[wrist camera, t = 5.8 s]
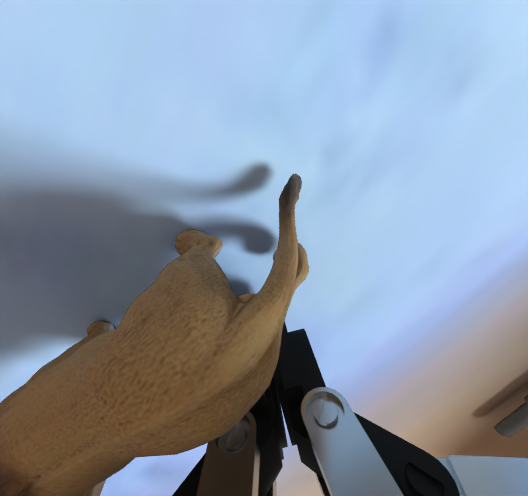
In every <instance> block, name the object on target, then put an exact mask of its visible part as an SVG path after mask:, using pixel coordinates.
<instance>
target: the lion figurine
mask: <svg viewBox="0 0 528 496" xmlns="http://www.w3.org/2000/svg"><path fill="white" fill-rule="evenodd" d="M301 185H302V181H301V177H300V176H298V175H297V174H293V175H292V176H291V177H290V179H289V180H288V182H287V184H286V185H285V187H284V189H283V191H282V193H281V195H280V198H279V241H278V247H277V249H276V250H275V252H274V254H273V260H274V262H273V266H272V269H271V271H270V274H269V276H268V278H267V280H266V282H265V284H264V285H263V287H262V288H261V290H260V291H259V292H258V293H257V294H249V293H247V294H243V295H240V296H236V294H235V293H234V292H233V290H232V288H231V286H230V284H229V281H228V279H227V277H226V276H225V274H224V273H223V271H222V270H221V268H220V266H219V265H218V263H217V262H216V261H215V259H214V258H215V257H216V256H217V254H218V253H219V251H220V250H221V248H222V245H223V244H222V241H221V239H220V238H218V237H216V236H210V235H207V234H205V233H204V232H202V231H198V230H188V231H185V232H182V233H181V234H179V235H178V237H177V239H176V243H175V247H176V249H177V251H178V253H179V254H180V255H181V256H180V257H178V258H176V259H175V260H173V261H172V262H170V263H169V264H168V265H167V266H166V267H165V268H164V269H163V271H162V272H161V273H160V274H159V276H158V277H157V279H156V281H155V282H154V283H153V284H152V285H151V286H150V287H149V288H147V289H146V290H145V291H144V292H143V293H141V294H140V295H139V296H138V297H137V298H136V299H135V300H134V302H133V303H132V304H131V306H130V307H129V308H128V310H127V311H126V313H125V315H124V317H123V319H122V321H121V323H120V325H119V326H118V327H117V328H116V329H115V328H114V326H113V325H111V324H110V323H107V322H101V321H97V322H94V323H93V324H91V325H90V326H89V327H88V328H87V332H88V336H87V337H86V338H84V339H83V340H81V341H80V342H78V343H77V344H75V345H73V346H72V347H70V348H69V349H67V350H66V351H65V352H64V353H62V354H61V355H60V356H58V357H57V358H55V359H54V360H52V361H51V362H49V363H47V364H46V365H44V366H43V367H42V368H40V369H39V370H38V371H37V372H36V373H35V374H34V375H33V376H32V377H31V378H30V379H29V381H28V382H27V383H26V384H24V385H23V386H21V387H20V388H18V389H17V390H16V391H14V392H13V393H11V394H10V395H9V396H8V397H6V398H5V399H4V400H3V401H2V402H1V403H0V496H92V494H93V492H94V489H95V487H96V485H97V484H99V483H101V482H102V481H104V480H106V479H107V478H109V477H110V476H112V475H113V474H115V473H116V472H118V471H120V470H121V469H123V468H124V467H125V466H126V465H127V464H129V463H130V462H131V461H132V460H133V459H134V458H135V457H146V456H160V455H174V454H179V453H182V452H185V451H188V450H191V449H194V448H196V447H199V446H201V445H204V444H206V443H208V442H210V441H212V440H213V439H215V438H217V437H219V436H221V435H223V434H225V433H227V432H228V431H229V430H230V429H231V428H232V427H234V426H235V425H236V424H237V423H238V422H239V421H240V420H241V419H242V418H243V417H244V416H245V414H246V413H247V412H248V411H249V410H250V409H251V408H252V406H253V405H254V404H255V403H256V402H257V401H258V400H259V399H260V397H261V396H262V395H263V393H264V392H265V391H266V389H267V388H268V387H269V385H270V382H271V380H272V377H273V374H274V371H275V369H276V366H277V362H278V358H279V351H280V345H281V336H282V329H283V324H284V320H285V317H286V313H287V310H288V307H289V305H290V302H291V299H292V296H293V294H294V292H295V290H296V288H297V287H298V286H299V285H300V284H301V283H302V282H303V281H304V280H305V278H306V276H307V274H308V272H309V266H308V262H307V254H306V251H305V249H304V248H303V247H302V245H301V244H300V243H298V241H297V235H296V229H295V214H294V209H295V204H296V202H297V200H298V199H299V192H300V189H301Z"/></svg>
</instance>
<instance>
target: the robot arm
mask: <svg viewBox="0 0 528 496" xmlns="http://www.w3.org/2000/svg"><path fill="white" fill-rule="evenodd" d="M280 403H281V404H280ZM281 407H282V410H281ZM282 411H283V414H284V418H285V422H286V425H287V429H288V432H289V436H290V440H291V443H292V445H296V444H297V447H298V451H299V455H300V458H301V462H302V463H304V464H305V465H306V466H307V467H309V468H310V469H311V470H312V471H314V472H315V475H316V478H317V481H318V484H319V486H320V489H321V492H322V494H323V496H528V459H527V458H512V457H489V456H466V455H448V456H447V458H435V457H433V456H432V455H430V454H429V453H427V452H425V451H424V450H422V449H420V448H418V447H416V446H414V445H413V444H411V443H409V442H407V441H405V440H403V439H402V438H400V437H398V436H396V435H394V434H392V433H391V432H389V431H387V430H385V429H383V428H382V427H380V426H378V425H376V424H374V423H372V422H371V421H369V420H367V419H365V418H363V417H361V416H360V415H358V414H356V413H354V412H353V411H352V409H351V407H350V406H349V404H348V403H347V401H346V400H345V398H344V397H343V396H342V395H341V394H340V393H339V392H337V391H336V390H334V389H331V388H328V387H326V386H325V383H324V380H323V378H322V375H321V372H320V370H319V367H318V364H317V362H316V359H315V356H314V353H313V351H312V348H311V345H310V343H309V340H308V337H307V334H306V332H305V330H304V329H300V330H296V331H292V332H287V328H286V325H285V321H284V324H283V329H282V336H281V345H280V351H279V358H278V362H277V366H276V369H275V371H274V374H273V377H272V380H271V382H270V385H269V387H268V388H267V389H266V391H265V392H264V393H263V395H262V396H261V397H260V399H259V400H258V401H257V402H256V403H255V404H254V405H253V406H252V408H251V409H250V410H249V411H248V412H247V413H246V414H245V416H244V417H243V418H242V419H241V420H240V421H239V422H238V423H237V424H236V425H235V426H234V427H232V428H231V429H230V430H229V431H228V432H227V433H225V434H223V435H221V436H219V437H217V438H215V439H213V440H212V441H210V442H208V445H207V450H206V453H205V454H204V456H203V457H202V458H201V460H200V461H199V462H198V463H197V465H196V466H195V467H194V468H193V470H192V471H191V472H190V474H189V475H188V476H187V477H186V479H185V480H184V481H183V483H182V484H181V485H180V486H179V488H178V489H177V490H176V492H175V493H174V494H173V495H172V496H276V477H277V476H278V474H279V472H280V470H281V468H282V467H283V466H282V459H284V457H283V450H282V448H284V447H288V446H287V439H286V433H285V427H284V421H283V415H282Z"/></svg>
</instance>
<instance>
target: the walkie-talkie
mask: <svg viewBox="0 0 528 496" xmlns="http://www.w3.org/2000/svg"><path fill="white" fill-rule="evenodd" d="M524 399H525V401H526V402H525V403H524V404H523V405H521V406H520V407H519V408H517V409H516V410H515V411H513V412H512V413H511V414H510V415H508V416H507V417H506V418H504V419H503V420H502V421H500V422H499V423H498V424H497V425H495V427H494V428H495V430H496V431H497V432H498V433H499V434H501V435H503V436H506V437H509V436H512V435H513V434H515V433H516V432H517V431H519V430H520V429H522V428H523V427H525V426H526V425H528V395H527V396H525V397H524Z"/></svg>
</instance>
